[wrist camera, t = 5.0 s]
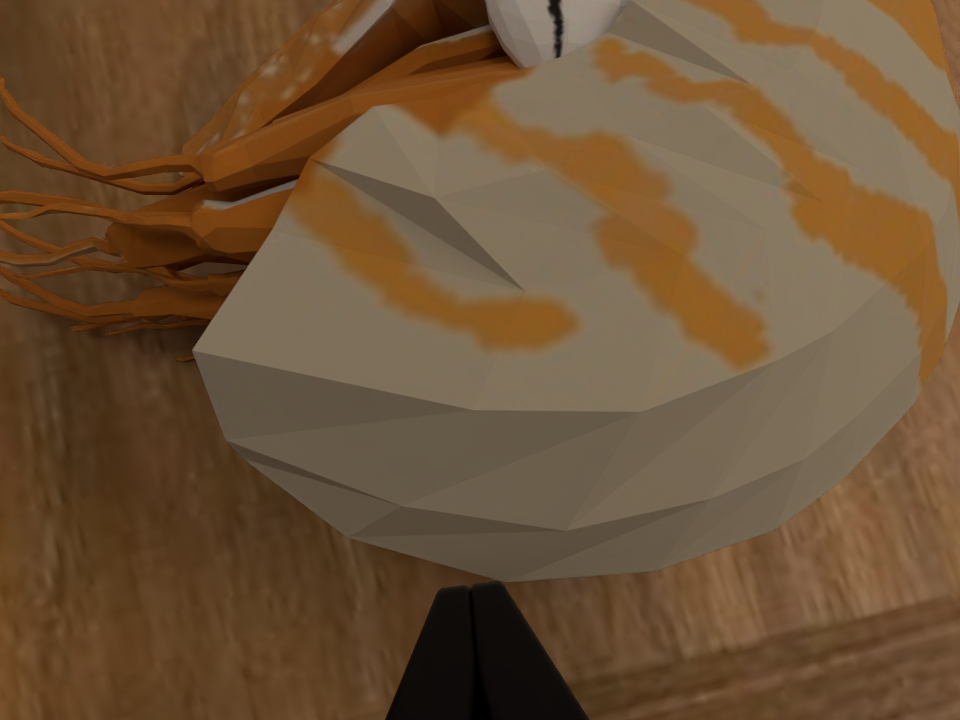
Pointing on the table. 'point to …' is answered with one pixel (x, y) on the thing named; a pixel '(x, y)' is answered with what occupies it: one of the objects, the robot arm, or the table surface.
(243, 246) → the nautilus
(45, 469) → the table surface
